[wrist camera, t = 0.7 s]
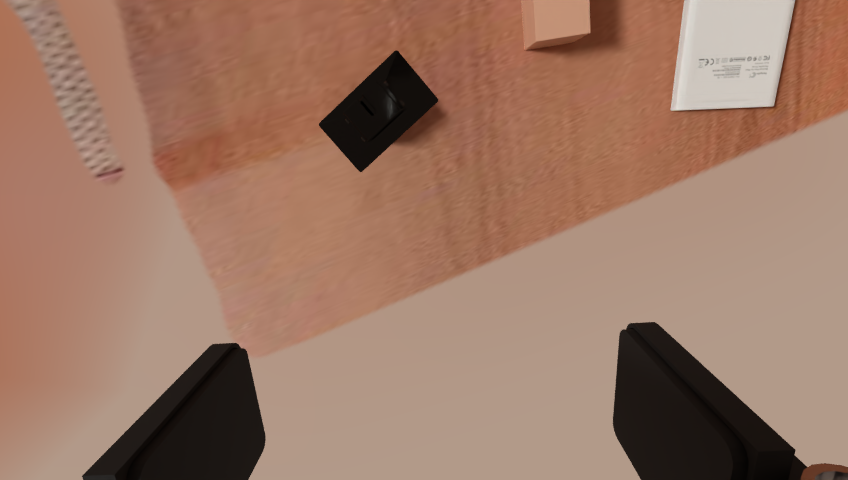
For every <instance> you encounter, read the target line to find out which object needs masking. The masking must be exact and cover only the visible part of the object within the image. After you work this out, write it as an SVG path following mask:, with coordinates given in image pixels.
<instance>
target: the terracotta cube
mask: <svg viewBox="0 0 848 480" xmlns="http://www.w3.org/2000/svg"><path fill="white" fill-rule="evenodd" d="M521 5H522V20H523V34H524V48H525V50H530V49H536V48H542V47H549V46H555V45H561V44H567V43H573V42H575V41H577V40H578V39H580V38H582V37H584V36H586V35H587V34H589V33H590V2H589V0H521Z"/></svg>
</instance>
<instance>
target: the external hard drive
mask: <svg viewBox="0 0 848 480" xmlns="http://www.w3.org/2000/svg"><path fill="white" fill-rule="evenodd" d="M794 4H795V0H684V7H683V15H682V23H681V31H680V39H679V47H678V55H677V63H676V71H675V79H674V87H673V95H672V103H671V111H679V110H700V109H725V108H749V107H773V106H774V103H775V98H776V93H777V88H778V83H779V78H780V73H781V68H782V63H783V59H784V54H785V49H786V44H787V39H788V33H789V29H790V23H791V18H792V13H793V8H794Z"/></svg>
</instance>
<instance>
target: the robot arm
mask: <svg viewBox="0 0 848 480" xmlns="http://www.w3.org/2000/svg"><path fill="white" fill-rule="evenodd" d="M613 426H614V431H615V434H616V436H617V439H618V440H619V442H620V444H621V445H622V447H623V449H624V451H625V452H626V454H627V456H628V458H629V459H630V461H631V462H632V465H633V466H634V468H635V470H636V471H637V473H638V475H639V477H640V479H641V480H848V467H845V466H842V465H834V464H826V463H824V464H815V465H811V466H809V467H807V466H805V465H804V464H803V463H802V462H801V461H800V460H799V459H798V458H797V457H796V456H795V455H794V454H795V449H794V448H793V447H791V446H790V445H789V444H788V443H787V442H786V441H785V440H784V439H782V437H781V436H780V435H778V434H777V433H776V432H775V431H774V430H773V429H772V428H771V427H770V426H769V425H767V424H766V423H765V422H764V421H763V420H762V419H761V418H760V417H759V416H757V414H756V413H754V412H753V411H752V410H751V409H750V408H749V407H748V406H747V405H746V404H744V403H743V402H742V401H741V400H740V399H739V398H738V397H737V396H736V395H735V394H734V393H733V392H731V391H730V390H729V389H728V388H727V387H726V386H725V385H724V384H723V383H722V382H720V381H719V380H718V379H717V378H716V377H715V376H714V375H713V374H712V373H711V372H710V371H709V370H707V369H706V368H705V367H704V366H703V365H702V364H701V363H700V362H699V361H698V360H696V359H695V358H694V357H693V356H692V355H691V354H690V353H689V352H688V351H687V350H686V349H684V348H683V347H682V346H681V345H680V344H679V343H678V342H677V341H676V340H675V339H674V338H672V337H671V336H670V335H669V334H668V333H667V332H666V331H664V329H663V328H662V327H660V326H659V325H658V324H657V323H655V322H648V323H631V324H629V325H628V326H627V329H626V330H622V331H621V332H620V336H619V350H618V363H617V376H616V390H615V402H614V414H613ZM264 446H265V432H264V427H263V423H262V418H261V414H260V409H259V404H258V400H257V395H256V391H255V386H254V381H253V377H252V372H251V368H250V363H249V359H248V354H247V351H246V350H245V349H244V348H240V346H239V345H238V344H237V343H226V344H213V345H211V346H210V347H209V348H208V349H207V350H206V351H205V352H204V353H203V354H202V355H201V356H200V357H199V358H198V359H197V360H196V361H195V362H194V363H193V364H192V365H191V366H190V367H189V368H188V369H187V370H186V371H185V372H184V373H183V374H182V375H181V376H180V377H179V378H178V379H177V380H176V381H175V382H174V384H172V385H171V386H170V387H169V388H168V389H167V390H166V391H165V392H164V393H163V394H162V395H161V397H159V399H157V401H156V402H155V403H154V404H153V405H152V406H151V407H150V408H149V409H148V410H147V411H146V412H145V413H144V414H143V415H142V416H141V417H140V418H139V419H138V420H137V421H136V422H135V423H134V424H133V425H132V426H131V427H130V428H129V429H128V430H127V431H126V432H125V433H124V434H123V435H122V436H121V437H120V438H119V439H118V440H117V441H116V442H115V443H114V444H113V445H112V446H111V447H110V448H109V449H108V450H107V451H106V452H105V453H104V455H102V456H101V457H100V458H99V459H98V460H97V461H96V462H95V463H94V465H92V467H91V468H90V469H89V470H88V471H87V472H86V473H85V474H84V475H83V476H82V477H83V480H248V479H249V477H250V475H251V473H252V471H253V469H254V467H255V465H256V464H257V462H258V460H259V458H260V456H261V454H262V452H263V449H264Z"/></svg>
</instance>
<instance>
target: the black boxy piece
mask: <svg viewBox="0 0 848 480" xmlns="http://www.w3.org/2000/svg"><path fill="white" fill-rule="evenodd" d="M437 102H438V99H437V97H436V96H435V95H434V94H433V93H432V91H431V90H430V89H429V88H428V87H427V85H426V84H425V83H424V82H423V81H422V79H421V78H420V77H419V76H418V75H417V73H416V72H415V71H414V70H413V69H412V67H411V66H410V65H409V64H408V63H407V61H406V60H405V59H404V58H403V57H402V55H401V54H400V53H399V52H398V51H394V52H393V53H392V54H391V55H390V56H389V57H388V58H387V59H386V60H385V61H384V62H383V63H382V64H381V65H380V66H379V67H378V68H377V69H376V70H375V71H373V72H372V73H371V74H370V75H369V76H368V77H367V78H366V79H365V80H364V81H363V82H362V83H361V84H360V85H359V86H358V87H357V88H356V89H355V90H354V91H353V92H351V93H350V94H349V95H348V96H347V97H346V98H345V99H344V100H343V101H342V102H341V103H340V104H339V105H338V106H337V107H336V108H335V109H334V110H333V111H332V112H331V113H329V114H328V115H327V116H326V117H325V118H324V119H323V120H322V121H321V122H320V123H319V126H320V127H321V128H322V130H323V131H324V132H325V133H326V134H327V135H328V136H329V138H330V139H331V140H332V141H333V142H334V143H335V144H336V145H337V147H338V148H339V149H340V150H341V151H342V152H343V153H344V155H345V156H346V157H347V158H348V159H349V160H350V161H351V162H352V164H353V165H354V166H355V167H356V168H357V169H358V170H359V171H360V172H362V171H363V170H364V169H365V168H366V167H368V166H369V165H370V164H371V163H372V162H373V161H374V160H375V159H376V158H377V157H378V156H379V155H381V154H382V153H383V152H384V151H385V150H386V149H387V148H388V147H389V146H390V145H391V144H392V143H393V142H395V141H396V140H397V139H398V138H399V137H400V136H401V135H402V134H403V133H404V132H405V131H406V130H408V129H409V128H410V127H411V126H412V125H413V124H414V123H415V122H416V121H417V120H418V119H419V118H421V117H422V116H423V115H424V114H425V113H426V112H427V111H428V110H429V109H430V108H431V107H432V106H433V105H435V104H436V103H437Z"/></svg>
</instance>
